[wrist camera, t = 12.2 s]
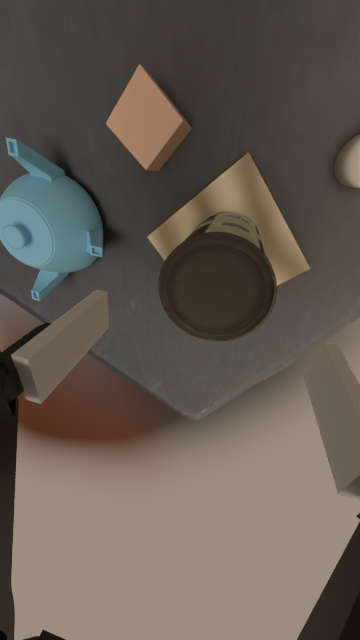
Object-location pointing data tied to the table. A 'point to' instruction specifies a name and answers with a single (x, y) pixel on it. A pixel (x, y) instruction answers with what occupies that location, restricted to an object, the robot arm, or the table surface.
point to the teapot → (48, 220)
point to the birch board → (243, 197)
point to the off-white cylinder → (349, 164)
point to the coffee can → (219, 279)
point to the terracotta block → (147, 121)
